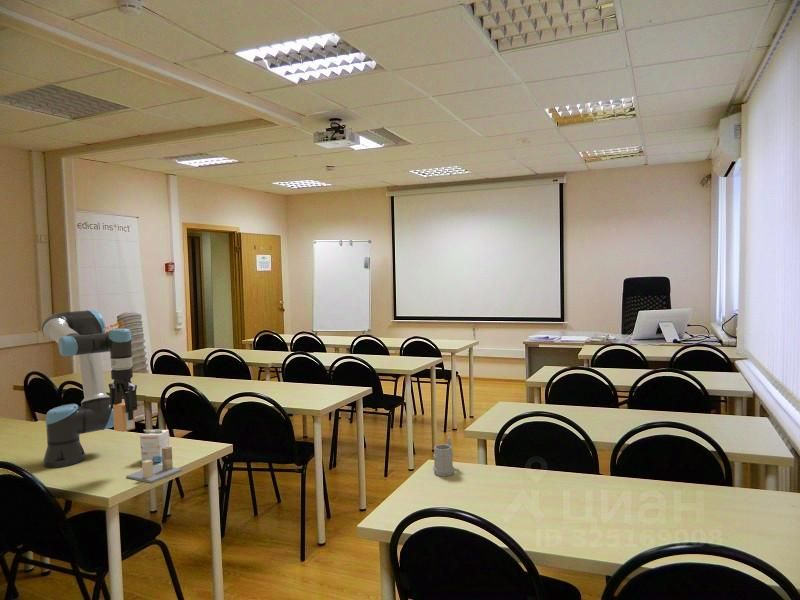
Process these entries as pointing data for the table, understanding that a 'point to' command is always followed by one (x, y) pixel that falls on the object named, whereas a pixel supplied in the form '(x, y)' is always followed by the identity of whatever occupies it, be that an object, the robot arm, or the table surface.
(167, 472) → the post board
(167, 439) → the ink box
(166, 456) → the beech post
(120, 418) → the peach carton
